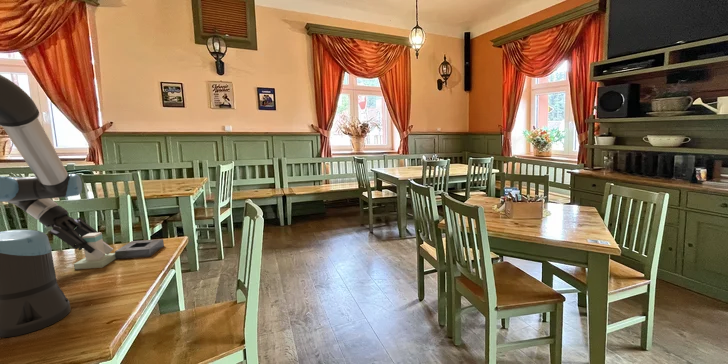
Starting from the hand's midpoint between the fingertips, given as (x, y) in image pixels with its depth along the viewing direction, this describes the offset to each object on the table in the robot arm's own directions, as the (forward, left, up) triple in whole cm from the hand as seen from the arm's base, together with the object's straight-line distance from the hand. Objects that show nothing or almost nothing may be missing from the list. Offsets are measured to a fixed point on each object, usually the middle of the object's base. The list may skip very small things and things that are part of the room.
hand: (106, 253), depth 125 cm
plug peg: (-1, +4, -3) cm, 5 cm away
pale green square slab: (-1, +4, -3) cm, 5 cm away
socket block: (+10, -5, -3) cm, 12 cm away
